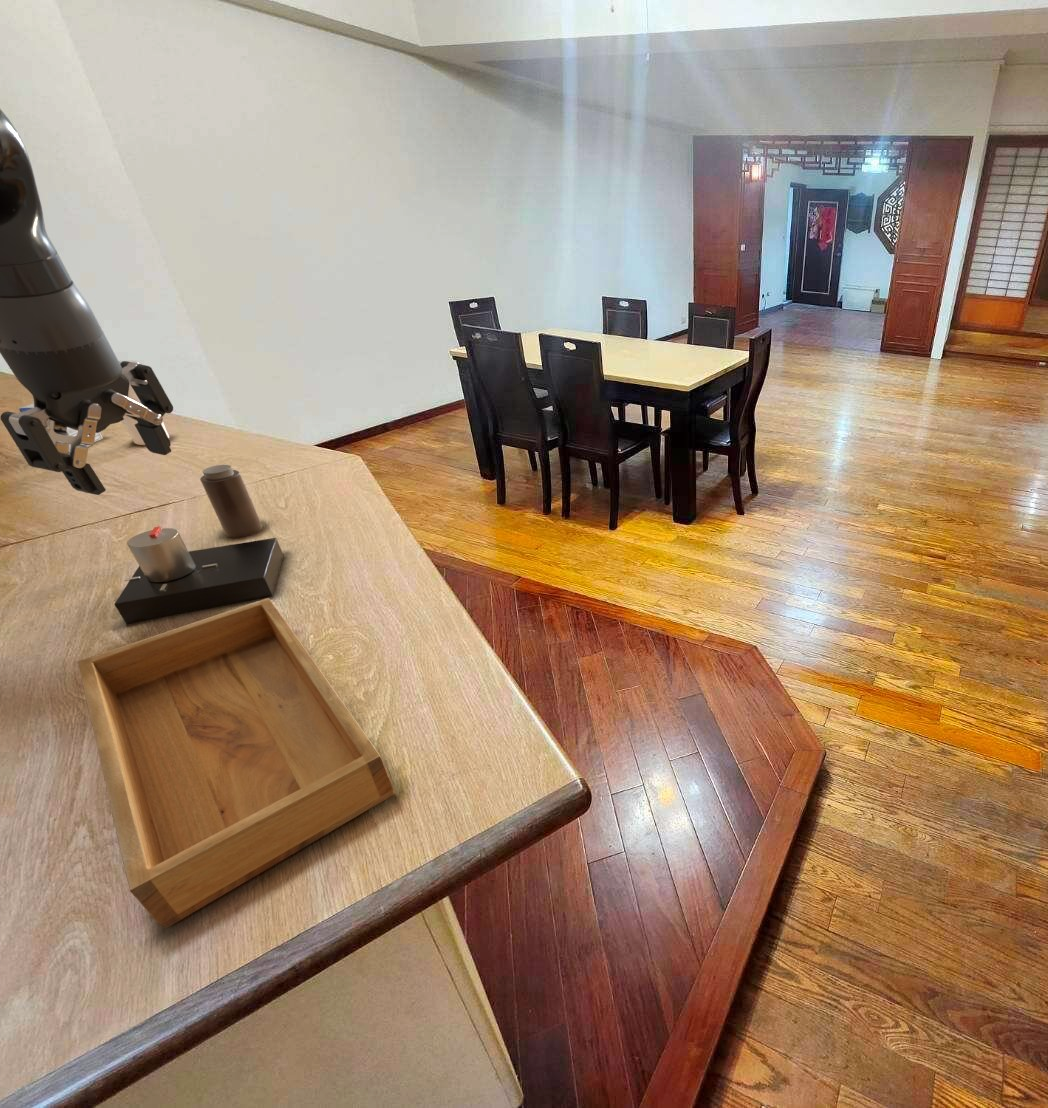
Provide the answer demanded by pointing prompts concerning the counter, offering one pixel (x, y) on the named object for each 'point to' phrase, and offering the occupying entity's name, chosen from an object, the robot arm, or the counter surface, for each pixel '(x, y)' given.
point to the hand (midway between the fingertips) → (129, 471)
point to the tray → (222, 755)
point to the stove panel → (206, 582)
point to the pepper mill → (230, 501)
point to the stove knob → (161, 554)
